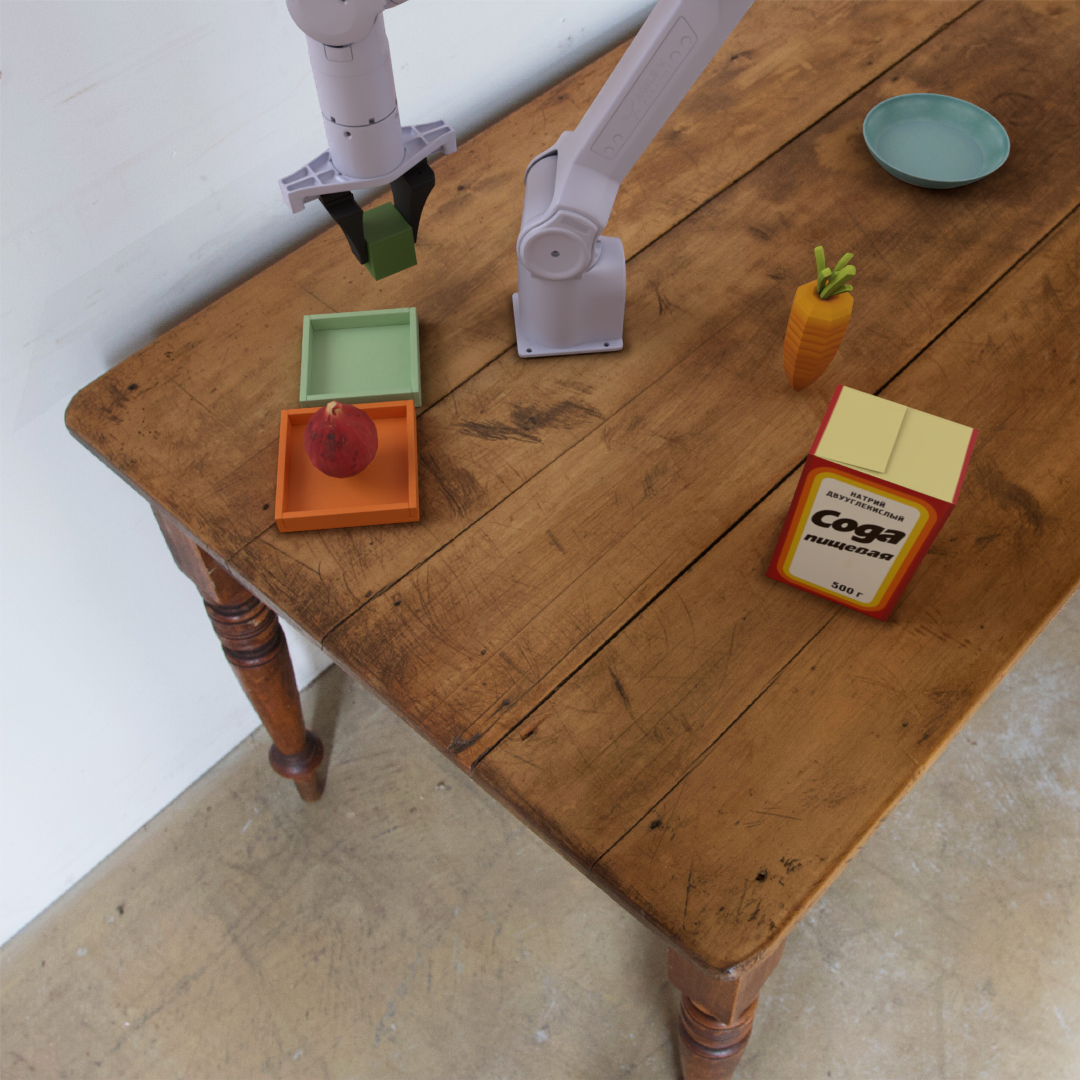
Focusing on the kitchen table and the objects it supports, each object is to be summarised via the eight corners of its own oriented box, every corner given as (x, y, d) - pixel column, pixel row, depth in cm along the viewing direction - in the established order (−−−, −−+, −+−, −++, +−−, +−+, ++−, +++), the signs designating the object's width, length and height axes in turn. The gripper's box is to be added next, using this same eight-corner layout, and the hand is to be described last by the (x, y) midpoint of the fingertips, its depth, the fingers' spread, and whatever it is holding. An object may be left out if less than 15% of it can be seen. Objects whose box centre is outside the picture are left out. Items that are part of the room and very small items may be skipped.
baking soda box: (907, 555, 78) (981, 426, 65) (885, 622, 75) (958, 501, 61) (791, 512, 80) (839, 379, 67) (765, 576, 77) (809, 449, 64)
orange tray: (416, 414, 86) (413, 399, 85) (419, 521, 80) (416, 507, 79) (286, 424, 86) (281, 409, 84) (280, 533, 80) (274, 519, 78)
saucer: (1019, 142, 105) (1030, 119, 103) (972, 222, 99) (982, 200, 96) (888, 98, 110) (895, 75, 107) (834, 171, 103) (840, 149, 101)
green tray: (418, 322, 92) (416, 306, 91) (421, 406, 87) (418, 391, 85) (308, 330, 92) (303, 315, 90) (304, 416, 86) (299, 401, 85)
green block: (396, 237, 88) (390, 200, 85) (417, 264, 86) (412, 227, 83) (356, 254, 87) (348, 217, 84) (376, 281, 85) (369, 245, 82)
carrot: (762, 370, 89) (797, 237, 76) (817, 366, 89) (861, 232, 76) (774, 413, 86) (812, 282, 73) (831, 409, 86) (879, 278, 73)
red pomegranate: (372, 502, 81) (356, 441, 74) (305, 491, 81) (282, 429, 75) (392, 446, 84) (378, 383, 77) (327, 436, 84) (307, 372, 78)
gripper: (420, 47, 78) (437, 191, 89) (247, 107, 74) (288, 250, 85) (463, 93, 75) (475, 236, 86) (285, 158, 71) (322, 300, 82)
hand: (384, 247), depth 85 cm, fingers closed on green block, 4 cm apart
